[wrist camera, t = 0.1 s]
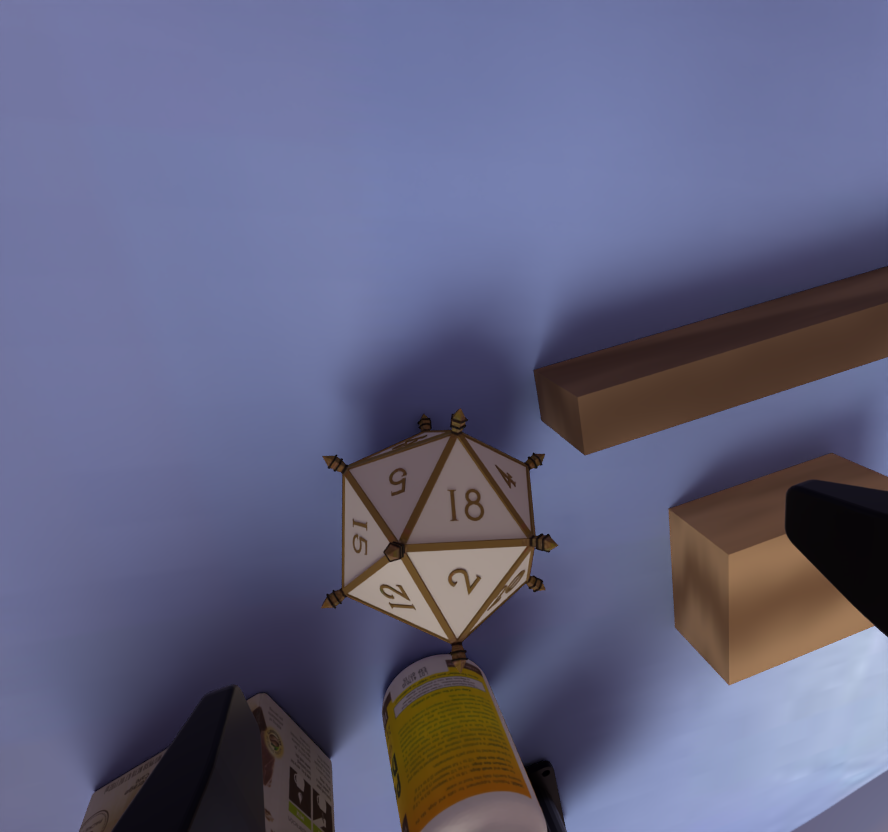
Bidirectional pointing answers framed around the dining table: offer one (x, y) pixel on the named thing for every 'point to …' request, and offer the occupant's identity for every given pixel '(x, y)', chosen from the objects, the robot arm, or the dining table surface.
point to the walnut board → (715, 363)
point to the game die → (437, 531)
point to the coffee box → (284, 779)
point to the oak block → (757, 574)
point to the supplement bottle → (454, 753)
